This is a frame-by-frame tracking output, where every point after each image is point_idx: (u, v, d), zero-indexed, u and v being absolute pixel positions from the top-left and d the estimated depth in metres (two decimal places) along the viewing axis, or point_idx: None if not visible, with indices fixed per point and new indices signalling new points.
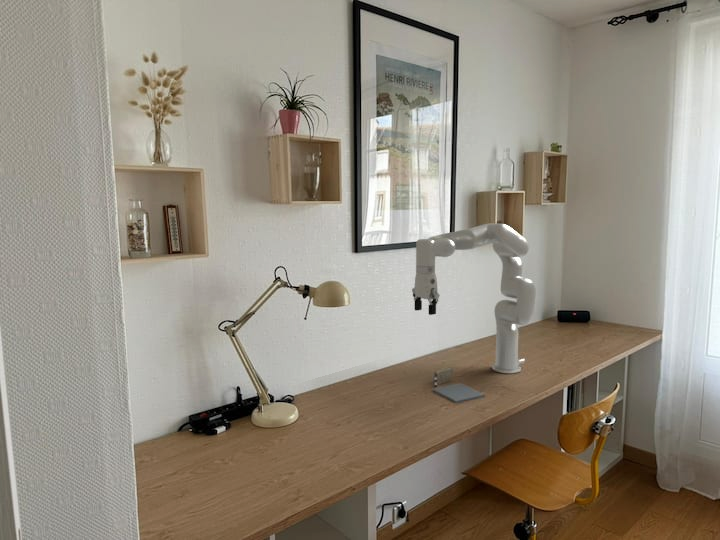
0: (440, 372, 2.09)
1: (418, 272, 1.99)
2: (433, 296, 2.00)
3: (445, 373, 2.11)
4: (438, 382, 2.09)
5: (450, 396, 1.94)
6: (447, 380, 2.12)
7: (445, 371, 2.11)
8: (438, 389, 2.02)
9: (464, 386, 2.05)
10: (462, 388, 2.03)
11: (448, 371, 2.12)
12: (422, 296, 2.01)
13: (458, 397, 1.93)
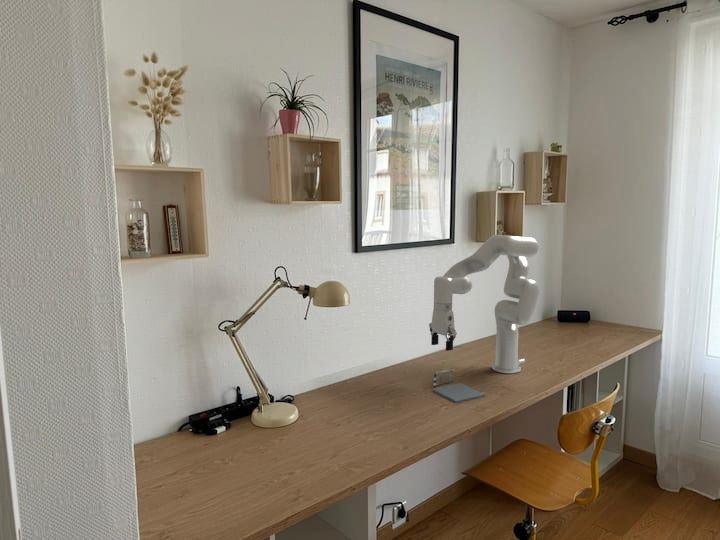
0: (440, 373, 2.08)
1: (436, 309, 2.05)
2: (450, 332, 2.05)
3: (445, 374, 2.10)
4: (438, 383, 2.08)
5: (450, 396, 1.94)
6: (447, 381, 2.11)
7: (445, 372, 2.10)
8: (438, 389, 2.02)
9: (464, 386, 2.05)
10: (462, 388, 2.03)
11: (449, 372, 2.11)
12: (439, 332, 2.07)
13: (458, 397, 1.93)
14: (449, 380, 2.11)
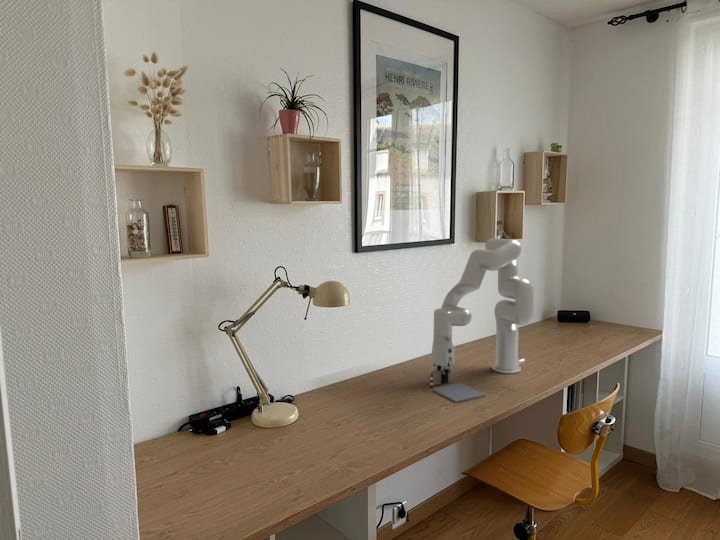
0: (437, 372, 2.08)
1: (436, 341, 2.07)
2: (448, 366, 2.08)
3: None
4: (435, 383, 2.08)
5: (450, 396, 1.94)
6: None
7: None
8: (438, 389, 2.02)
9: (464, 386, 2.05)
10: (462, 388, 2.03)
11: None
12: (439, 364, 2.08)
13: (458, 397, 1.93)
14: None
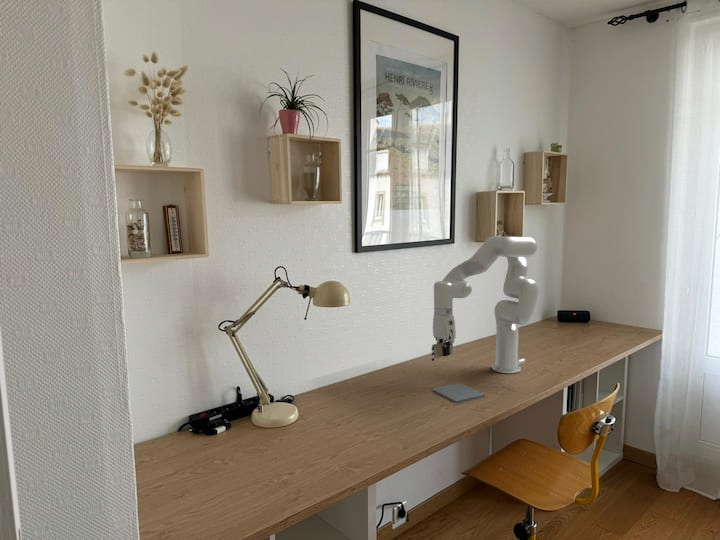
0: (438, 345, 2.07)
1: (436, 314, 2.06)
2: (449, 338, 2.07)
3: None
4: (436, 355, 2.07)
5: (450, 396, 1.94)
6: None
7: None
8: (438, 389, 2.02)
9: (464, 386, 2.05)
10: (462, 388, 2.03)
11: None
12: (441, 337, 2.07)
13: (458, 397, 1.93)
14: None
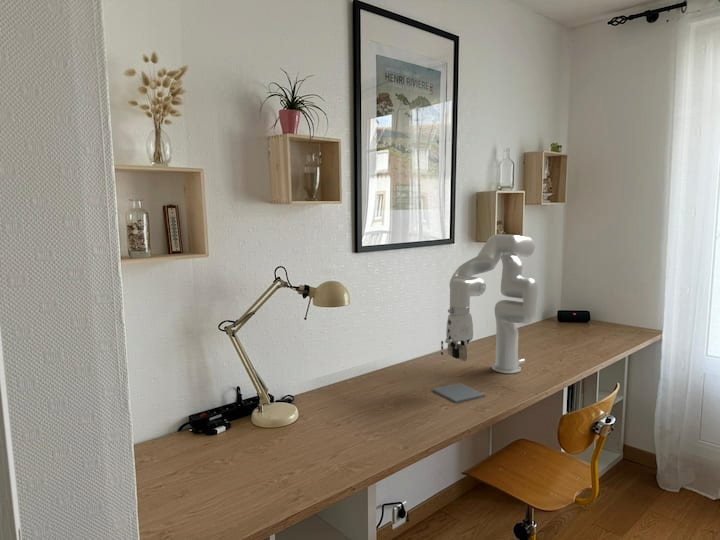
0: None
1: None
2: None
3: None
4: (449, 353, 2.01)
5: (450, 396, 1.94)
6: None
7: None
8: (438, 389, 2.02)
9: (464, 386, 2.05)
10: (462, 388, 2.03)
11: (458, 347, 1.95)
12: None
13: (458, 397, 1.93)
14: (459, 357, 1.95)
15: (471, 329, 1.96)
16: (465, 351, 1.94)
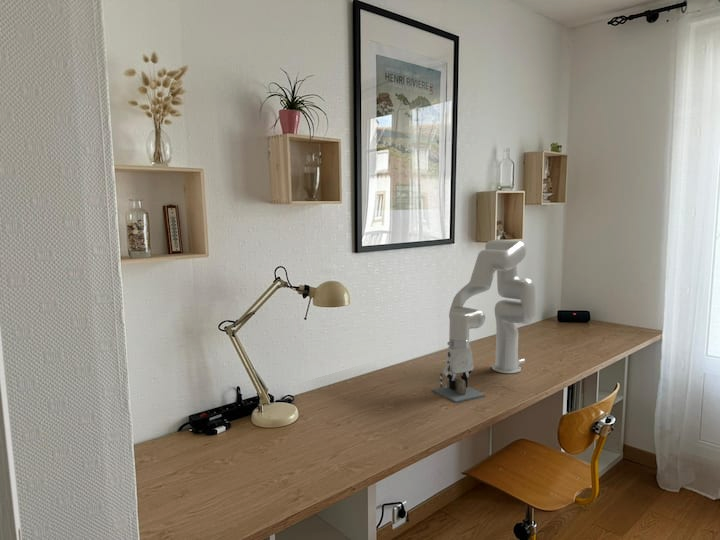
0: None
1: None
2: None
3: None
4: (448, 386, 2.02)
5: (450, 396, 1.94)
6: (457, 390, 1.98)
7: (455, 379, 1.98)
8: (438, 389, 2.02)
9: None
10: None
11: (457, 381, 1.97)
12: None
13: (458, 397, 1.93)
14: (458, 390, 1.97)
15: (470, 361, 1.97)
16: (464, 385, 1.95)
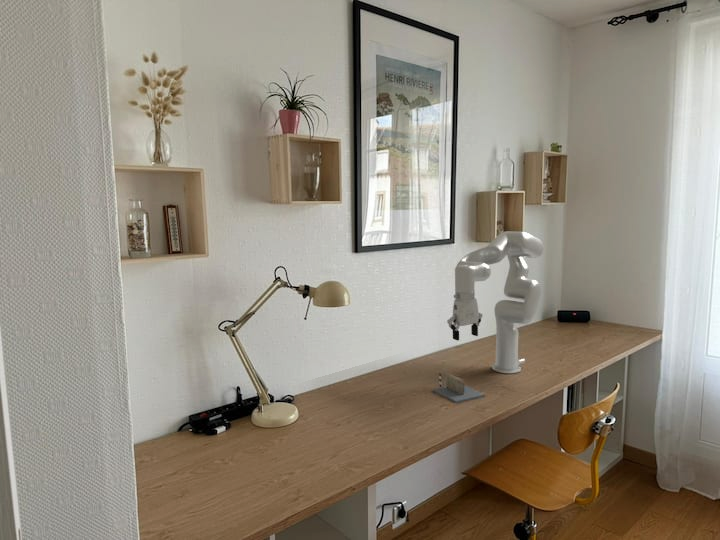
0: (449, 377, 2.01)
1: None
2: None
3: (453, 381, 1.99)
4: (447, 385, 2.02)
5: (450, 396, 1.94)
6: (455, 390, 1.98)
7: (453, 379, 1.98)
8: (438, 389, 2.02)
9: (464, 386, 2.05)
10: None
11: (456, 381, 1.97)
12: None
13: (458, 397, 1.93)
14: (457, 390, 1.97)
15: (476, 313, 2.01)
16: (462, 385, 1.95)
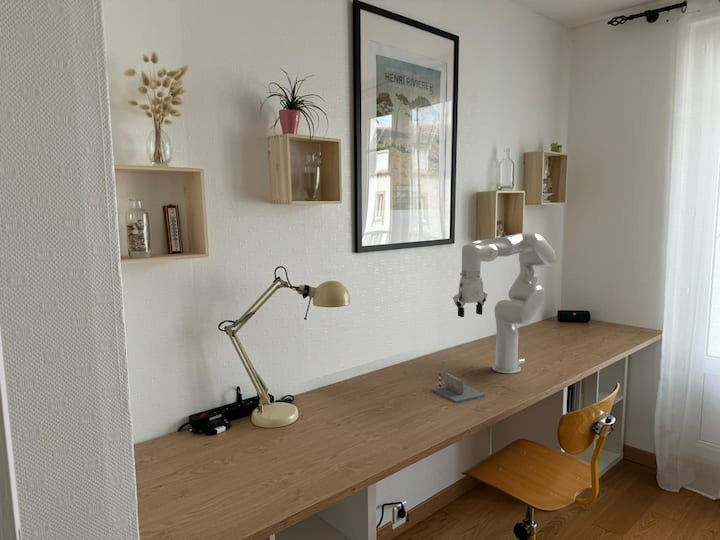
0: (448, 376, 2.01)
1: None
2: None
3: (452, 381, 1.99)
4: (446, 385, 2.02)
5: (450, 396, 1.94)
6: (454, 390, 1.98)
7: (452, 379, 1.98)
8: (438, 389, 2.02)
9: (464, 386, 2.05)
10: None
11: (454, 381, 1.97)
12: None
13: (458, 397, 1.93)
14: (456, 390, 1.97)
15: (482, 292, 2.08)
16: (461, 385, 1.95)
